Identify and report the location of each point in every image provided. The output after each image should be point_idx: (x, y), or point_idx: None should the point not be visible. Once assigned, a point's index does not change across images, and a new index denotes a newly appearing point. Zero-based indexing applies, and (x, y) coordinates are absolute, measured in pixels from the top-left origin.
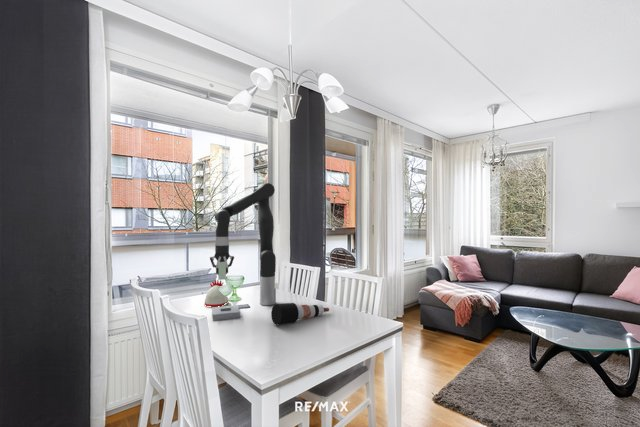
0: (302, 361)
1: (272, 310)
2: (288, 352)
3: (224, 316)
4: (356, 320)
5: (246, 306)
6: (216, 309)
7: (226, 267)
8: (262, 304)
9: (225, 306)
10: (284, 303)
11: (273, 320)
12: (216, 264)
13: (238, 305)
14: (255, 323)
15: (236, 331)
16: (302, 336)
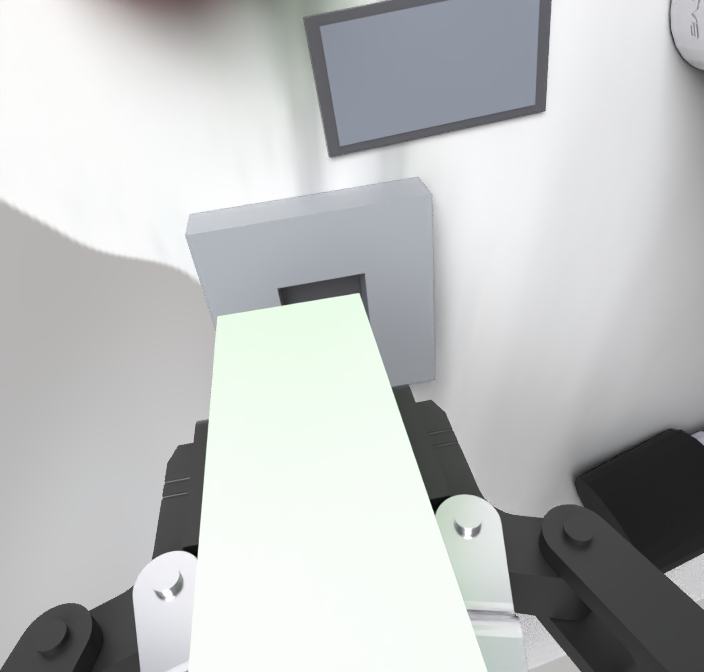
0: (543, 655)
1: (610, 515)
2: (529, 629)
3: None
4: None
5: (514, 90)
6: (245, 303)
7: None
8: (680, 48)
9: (316, 224)
10: (699, 536)
11: (582, 487)
12: (139, 657)
13: (440, 22)
14: (494, 445)
15: None
16: None
